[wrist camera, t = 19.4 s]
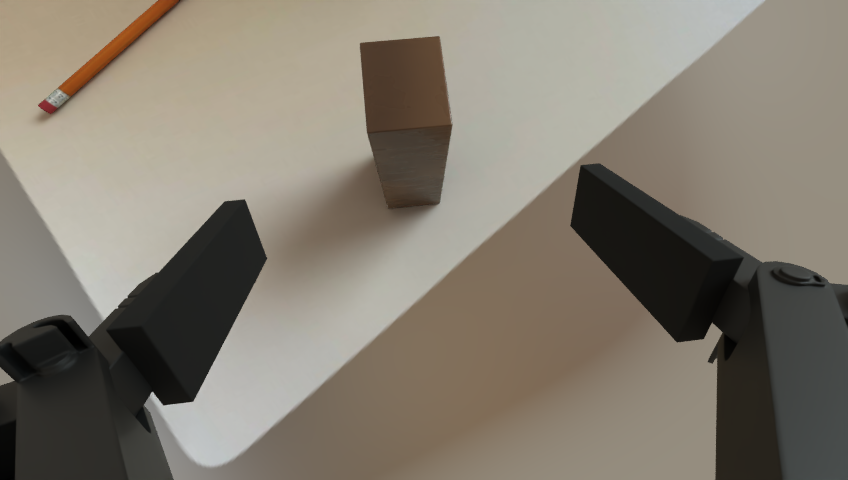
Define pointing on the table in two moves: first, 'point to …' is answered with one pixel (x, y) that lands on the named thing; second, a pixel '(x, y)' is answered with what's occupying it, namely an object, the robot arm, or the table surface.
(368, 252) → the table surface
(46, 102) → the pencil
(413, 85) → the tall brown wooden bar
